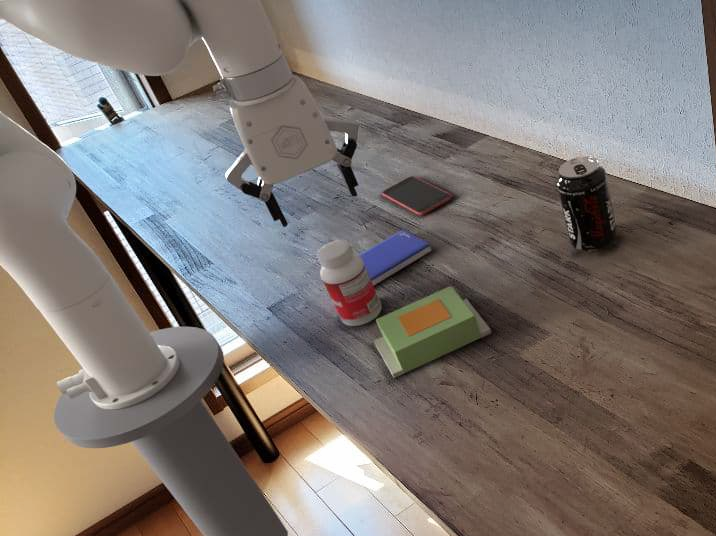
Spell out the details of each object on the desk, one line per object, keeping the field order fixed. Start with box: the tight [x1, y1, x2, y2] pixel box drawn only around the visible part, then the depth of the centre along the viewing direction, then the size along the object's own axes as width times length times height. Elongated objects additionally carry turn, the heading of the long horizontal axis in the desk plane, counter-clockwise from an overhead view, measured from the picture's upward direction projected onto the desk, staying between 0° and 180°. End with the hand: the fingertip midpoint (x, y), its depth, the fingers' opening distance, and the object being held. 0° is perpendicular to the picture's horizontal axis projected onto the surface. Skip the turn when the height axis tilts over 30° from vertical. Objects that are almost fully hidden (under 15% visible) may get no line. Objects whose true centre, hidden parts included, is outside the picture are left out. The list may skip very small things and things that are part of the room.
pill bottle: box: [316, 239, 383, 327], centre depth 117 cm, size 6×6×11 cm
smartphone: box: [381, 175, 453, 216], centre depth 144 cm, size 7×1×14 cm
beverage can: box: [556, 156, 618, 253], centre depth 117 cm, size 7×7×12 cm
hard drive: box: [358, 229, 432, 287], centre depth 129 cm, size 2×8×12 cm
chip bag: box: [373, 285, 492, 379], centre depth 111 cm, size 14×9×4 cm, turn 115°
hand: (318, 207), depth 109 cm, fingers open, 9 cm apart
